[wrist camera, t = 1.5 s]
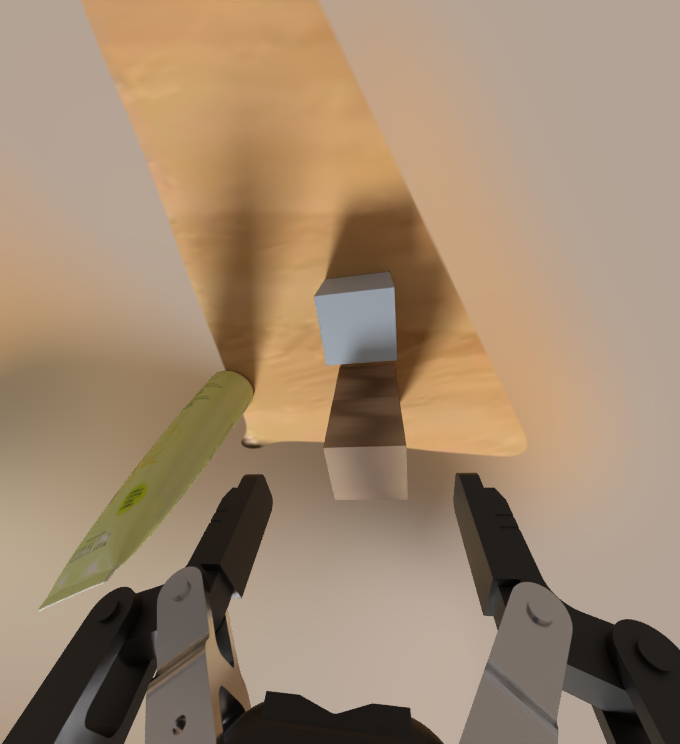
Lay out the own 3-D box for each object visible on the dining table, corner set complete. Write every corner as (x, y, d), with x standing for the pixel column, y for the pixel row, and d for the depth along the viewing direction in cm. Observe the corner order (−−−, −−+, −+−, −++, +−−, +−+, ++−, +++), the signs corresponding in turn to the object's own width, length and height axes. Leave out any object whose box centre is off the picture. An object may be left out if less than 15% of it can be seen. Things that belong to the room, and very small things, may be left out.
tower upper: (341, 447, 26) (334, 499, 22) (332, 400, 24) (323, 447, 19) (400, 445, 25) (407, 499, 21) (398, 396, 23) (406, 445, 18)
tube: (209, 359, 29) (-9, 562, 12) (256, 370, 29) (104, 585, 13) (211, 401, 32) (36, 611, 15) (254, 411, 32) (127, 630, 15)
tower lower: (346, 410, 31) (341, 447, 26) (339, 368, 28) (333, 400, 24) (396, 408, 30) (400, 445, 25) (394, 364, 27) (399, 396, 23)
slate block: (334, 337, 27) (326, 365, 22) (325, 279, 24) (313, 296, 19) (392, 332, 26) (397, 360, 21) (389, 271, 23) (394, 287, 18)
